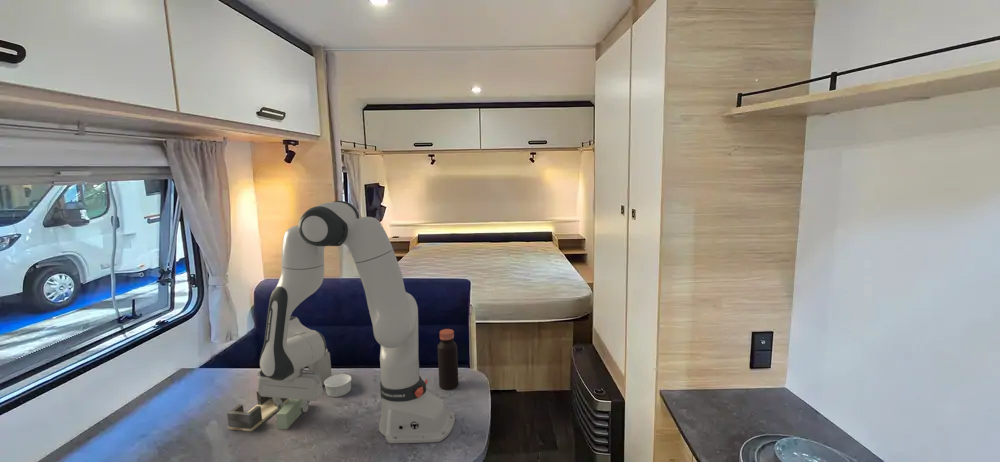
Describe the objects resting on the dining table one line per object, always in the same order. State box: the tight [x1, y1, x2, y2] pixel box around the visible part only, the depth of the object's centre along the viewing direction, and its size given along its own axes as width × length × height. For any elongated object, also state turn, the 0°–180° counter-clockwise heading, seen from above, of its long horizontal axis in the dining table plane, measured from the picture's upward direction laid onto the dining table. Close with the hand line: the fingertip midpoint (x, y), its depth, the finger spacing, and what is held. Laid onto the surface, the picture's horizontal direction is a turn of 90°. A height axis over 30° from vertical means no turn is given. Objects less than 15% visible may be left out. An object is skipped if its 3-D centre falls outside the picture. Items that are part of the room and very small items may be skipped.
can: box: [307, 348, 333, 386], centre depth 156 cm, size 8×8×12 cm
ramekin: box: [323, 373, 352, 398], centre depth 150 cm, size 9×9×4 cm
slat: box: [275, 399, 309, 430], centre depth 135 cm, size 3×13×5 cm, turn 177°
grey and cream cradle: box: [226, 390, 290, 432], centre depth 136 cm, size 8×17×5 cm, turn 170°
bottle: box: [437, 328, 459, 391], centre depth 150 cm, size 7×7×20 cm
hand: (292, 409), depth 135 cm, fingers open, 7 cm apart
